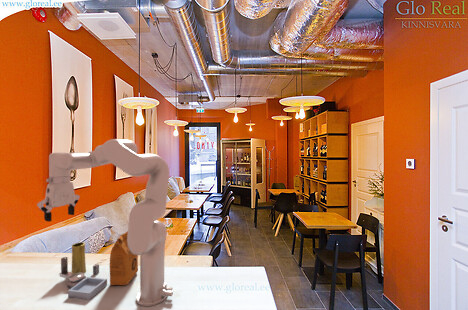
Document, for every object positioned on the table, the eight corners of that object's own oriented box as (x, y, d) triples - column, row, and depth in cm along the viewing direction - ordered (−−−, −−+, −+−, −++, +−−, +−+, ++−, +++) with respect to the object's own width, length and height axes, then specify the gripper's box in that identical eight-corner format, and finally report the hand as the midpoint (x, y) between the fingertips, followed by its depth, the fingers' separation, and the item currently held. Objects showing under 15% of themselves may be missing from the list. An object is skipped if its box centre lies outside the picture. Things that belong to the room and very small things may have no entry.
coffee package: (141, 272, 111) (141, 229, 110) (126, 288, 99) (126, 239, 98) (122, 271, 112) (122, 228, 111) (106, 286, 100) (105, 238, 99)
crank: (87, 276, 103) (87, 259, 103) (75, 283, 98) (74, 265, 97) (68, 271, 107) (68, 255, 107) (55, 278, 102) (55, 260, 101)
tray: (107, 285, 101) (106, 279, 101) (89, 300, 91) (89, 293, 91) (87, 282, 102) (87, 276, 102) (68, 297, 92) (68, 290, 92)
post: (99, 272, 111) (99, 264, 110) (96, 274, 109) (96, 266, 109) (95, 272, 111) (95, 264, 111) (93, 274, 109) (92, 266, 109)
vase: (78, 277, 107) (78, 247, 106) (67, 275, 108) (67, 246, 107) (89, 270, 113) (88, 242, 112) (78, 268, 114) (78, 241, 113)
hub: (89, 280, 104) (89, 275, 104) (77, 289, 97) (77, 285, 97) (76, 278, 105) (76, 274, 105) (63, 287, 98) (63, 283, 98)
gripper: (43, 183, 90) (43, 225, 91) (84, 178, 107) (84, 213, 107) (31, 182, 93) (32, 222, 93) (73, 177, 109) (73, 211, 110)
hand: (60, 217), depth 100 cm, fingers open, 9 cm apart
